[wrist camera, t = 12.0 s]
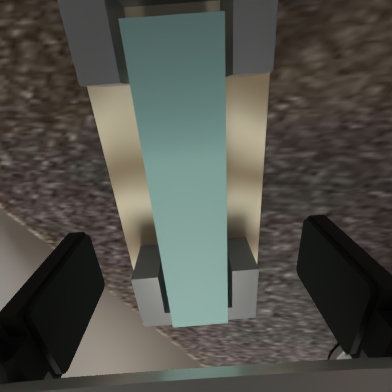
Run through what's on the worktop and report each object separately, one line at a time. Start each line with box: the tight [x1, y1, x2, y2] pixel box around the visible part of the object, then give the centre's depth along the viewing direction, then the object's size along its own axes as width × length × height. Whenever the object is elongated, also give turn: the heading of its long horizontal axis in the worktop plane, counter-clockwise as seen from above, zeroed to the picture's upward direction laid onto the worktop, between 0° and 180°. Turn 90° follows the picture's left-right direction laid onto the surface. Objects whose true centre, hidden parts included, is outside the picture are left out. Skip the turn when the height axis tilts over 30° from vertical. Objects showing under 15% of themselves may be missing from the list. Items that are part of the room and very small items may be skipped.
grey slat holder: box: [57, 0, 278, 327], centre depth 16 cm, size 24×10×4 cm, turn 4°
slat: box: [118, 11, 228, 327], centre depth 15 cm, size 18×4×6 cm, turn 4°
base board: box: [87, 0, 270, 270], centre depth 18 cm, size 25×12×2 cm, turn 4°
